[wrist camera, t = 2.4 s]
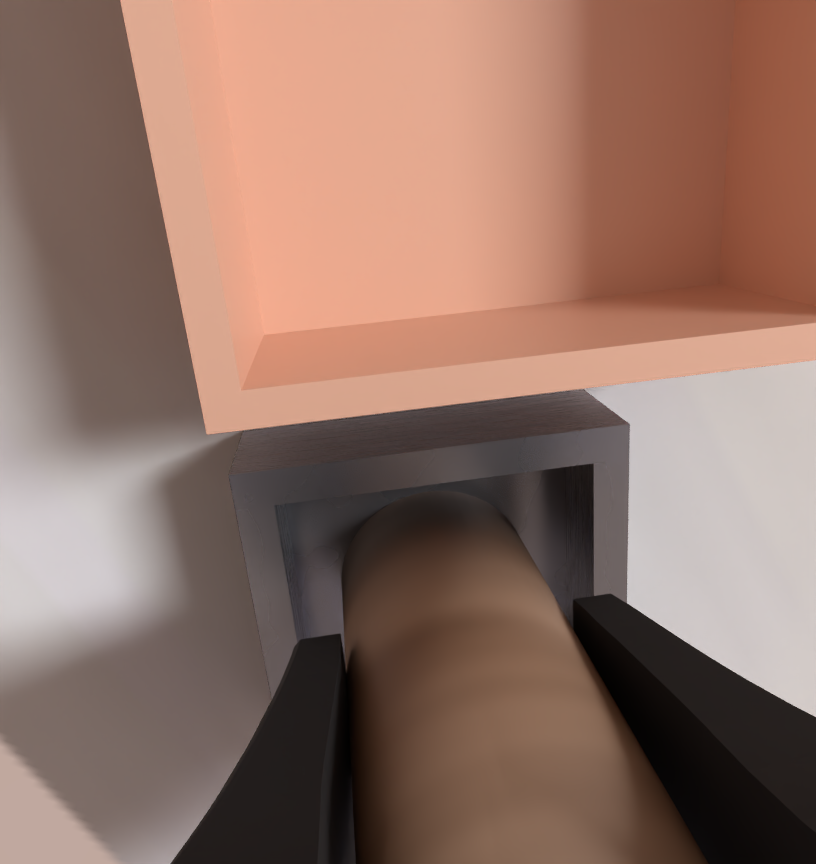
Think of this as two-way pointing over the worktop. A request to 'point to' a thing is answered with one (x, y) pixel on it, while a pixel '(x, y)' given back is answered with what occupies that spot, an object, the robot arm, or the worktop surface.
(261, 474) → the metal socket
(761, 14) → the terracotta bin
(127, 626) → the worktop surface
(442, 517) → the walnut strut
